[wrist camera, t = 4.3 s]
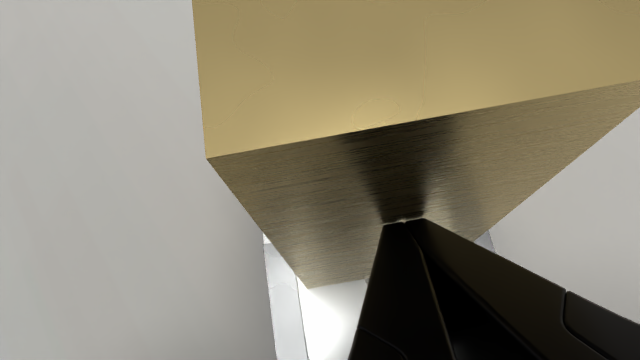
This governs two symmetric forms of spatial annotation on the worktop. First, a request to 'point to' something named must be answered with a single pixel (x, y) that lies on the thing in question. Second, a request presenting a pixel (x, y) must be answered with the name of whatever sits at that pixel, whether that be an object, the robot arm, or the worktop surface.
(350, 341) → the silver flat plate
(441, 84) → the brass block
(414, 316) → the robot arm
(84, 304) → the worktop surface
